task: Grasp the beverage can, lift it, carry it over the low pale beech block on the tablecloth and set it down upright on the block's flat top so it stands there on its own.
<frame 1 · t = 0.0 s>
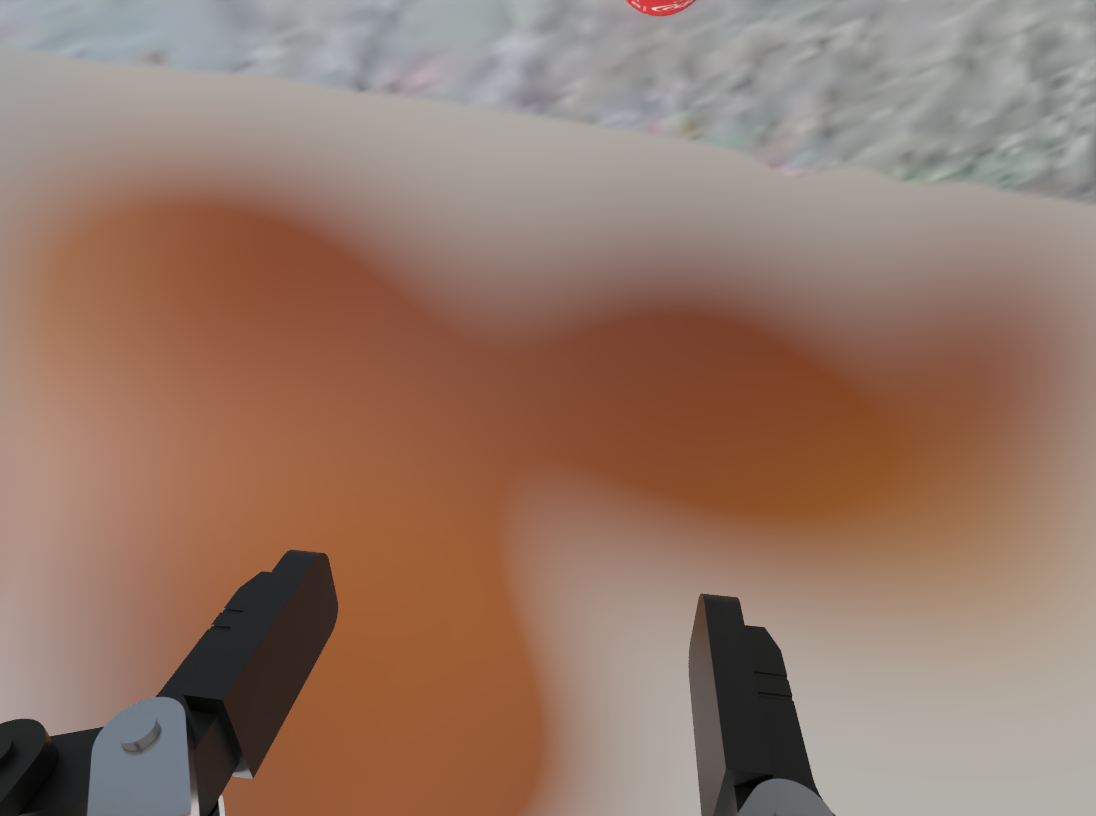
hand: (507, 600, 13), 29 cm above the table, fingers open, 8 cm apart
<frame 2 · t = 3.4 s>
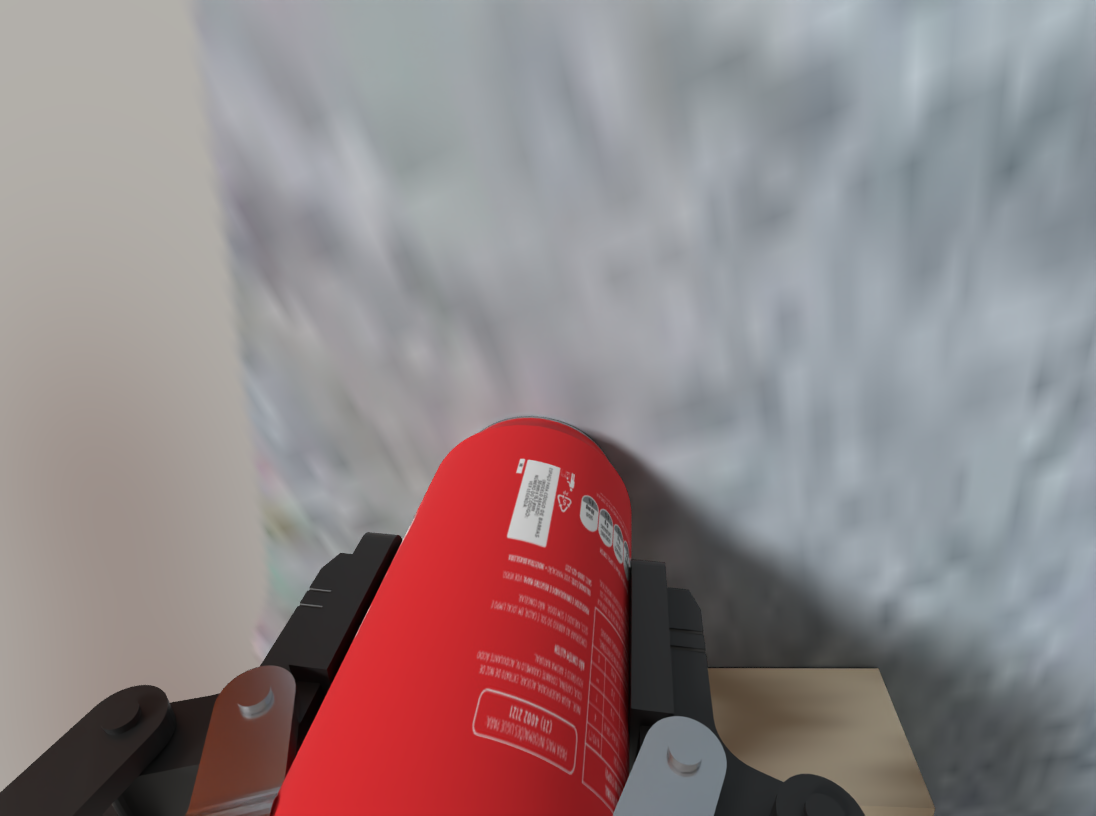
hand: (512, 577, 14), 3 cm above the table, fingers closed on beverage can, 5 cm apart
beech block: (698, 770, 22), on the table
beverage can: (537, 481, 17), on the table, touching gripper
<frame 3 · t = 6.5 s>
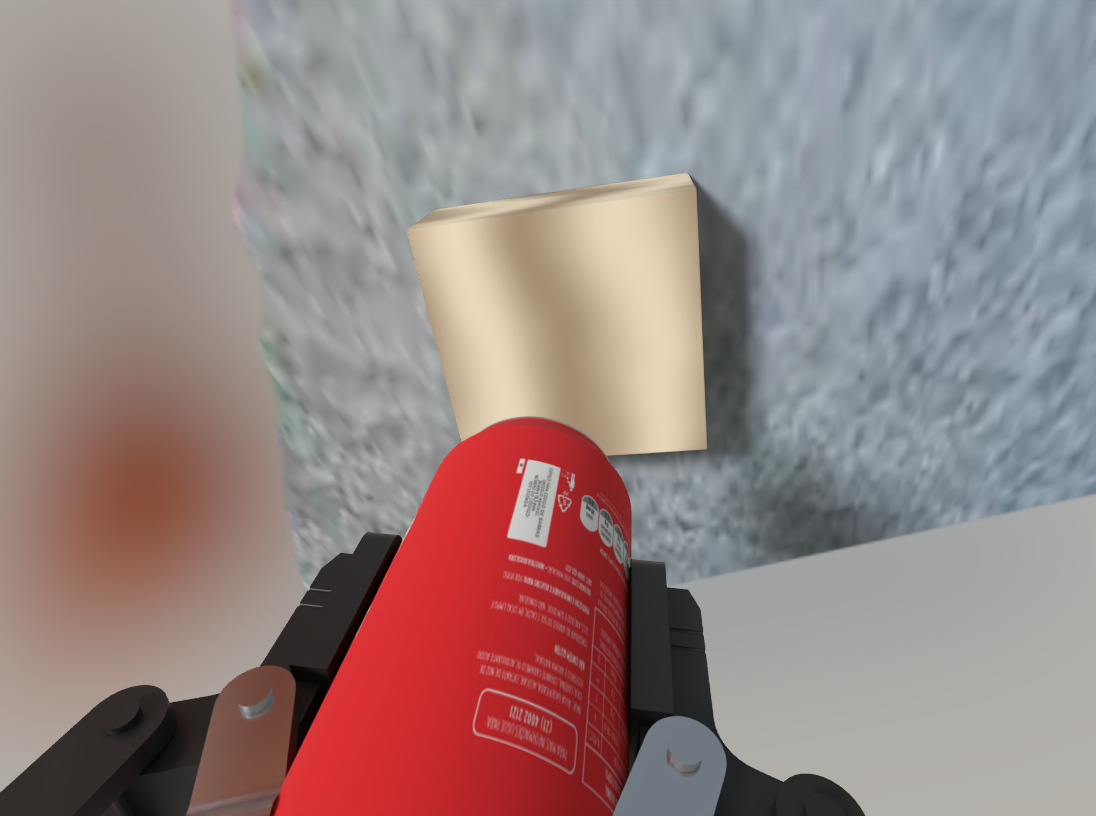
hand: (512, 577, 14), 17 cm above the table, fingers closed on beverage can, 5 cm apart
beech block: (574, 312, 29), on the table
beverage can: (537, 481, 17), point 14 cm above the table, touching gripper
when the fingers open (8 cm above the table, at t = 9.5 s): beverage can stays where it is, resting on beech block.
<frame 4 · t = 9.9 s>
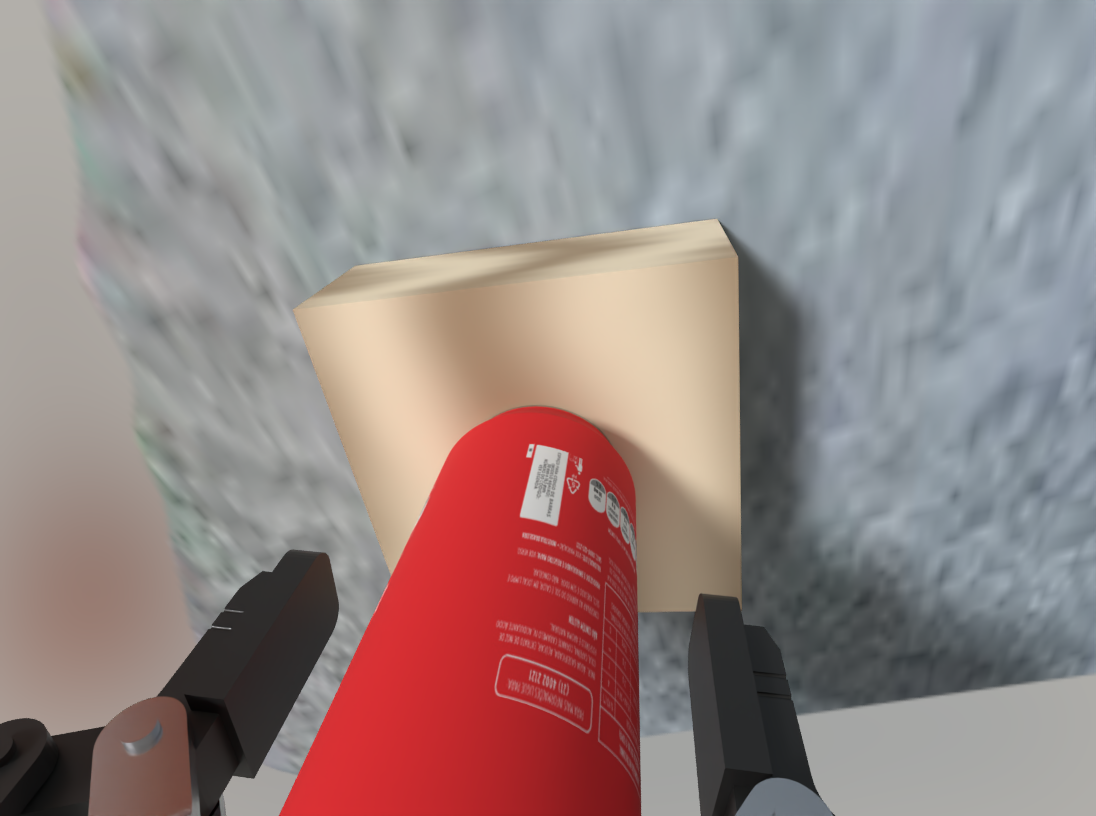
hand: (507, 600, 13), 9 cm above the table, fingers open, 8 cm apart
beech block: (553, 405, 21), on the table
beverage can: (542, 469, 17), point 4 cm above the table, touching beech block
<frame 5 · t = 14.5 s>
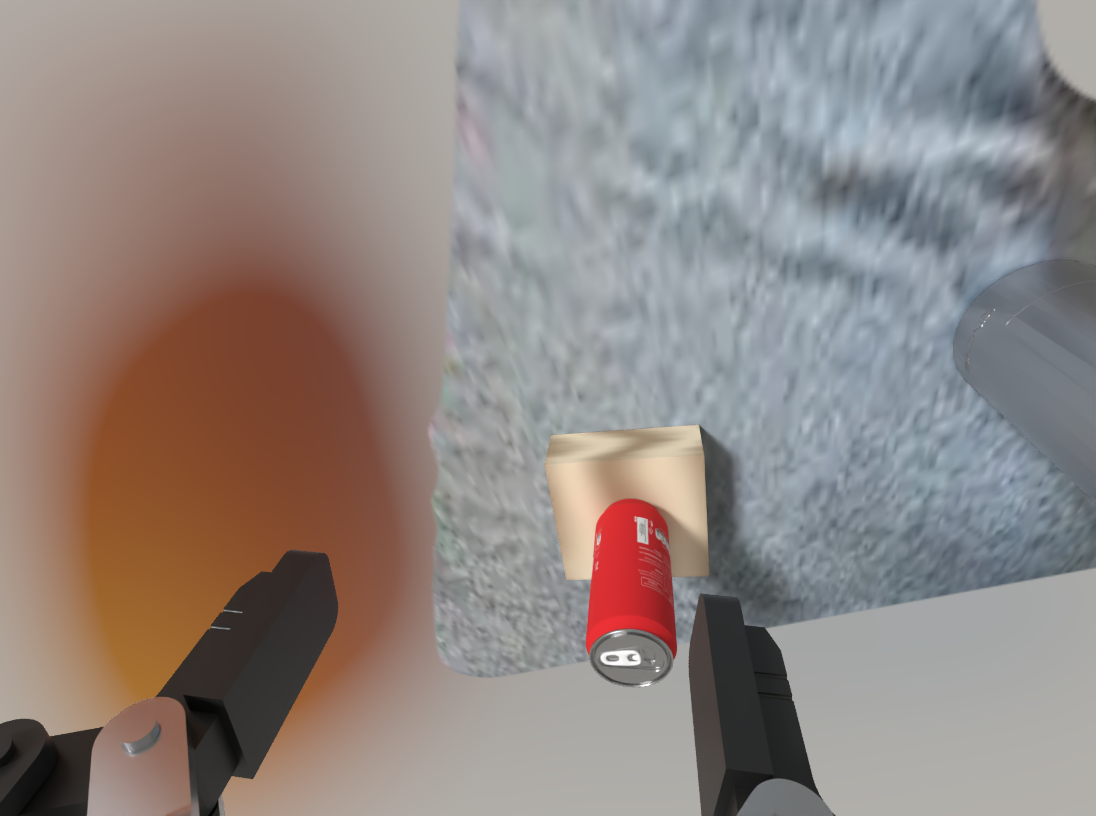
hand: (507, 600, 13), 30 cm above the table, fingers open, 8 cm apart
beech block: (630, 489, 48), on the table
beverage can: (631, 520, 45), point 4 cm above the table, touching beech block
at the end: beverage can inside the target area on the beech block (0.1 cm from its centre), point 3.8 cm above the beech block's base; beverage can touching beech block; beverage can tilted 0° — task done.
